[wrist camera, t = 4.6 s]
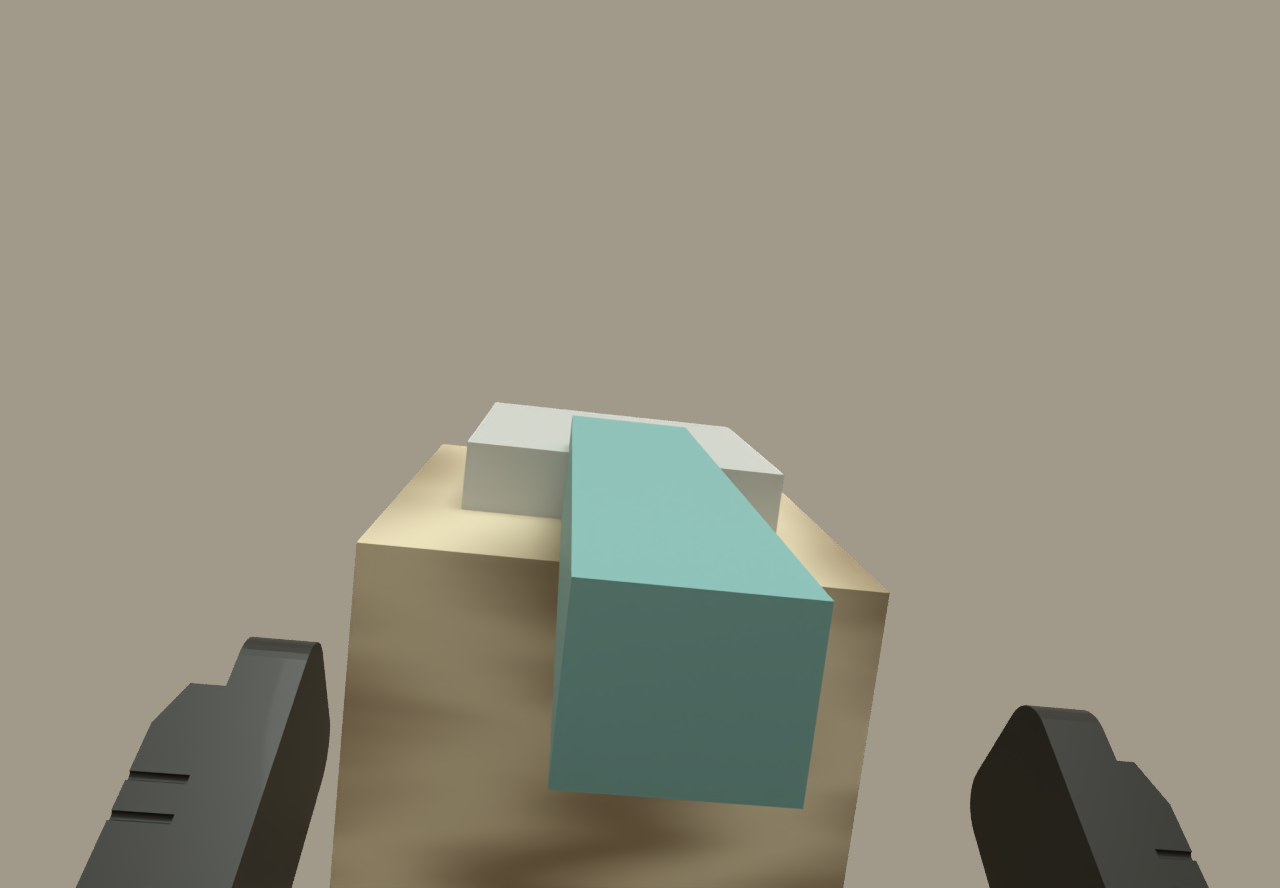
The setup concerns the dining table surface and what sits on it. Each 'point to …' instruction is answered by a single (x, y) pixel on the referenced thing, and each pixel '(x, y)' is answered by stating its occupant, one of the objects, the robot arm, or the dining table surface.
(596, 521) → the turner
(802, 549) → the tall wooden block
